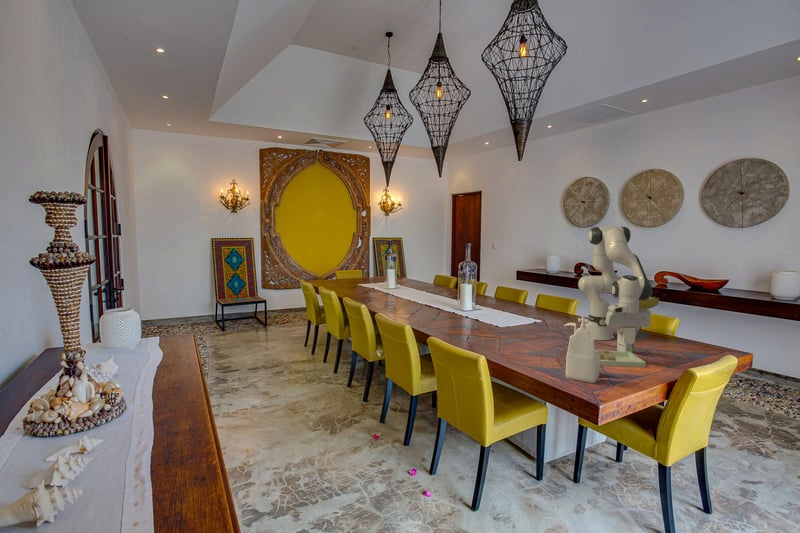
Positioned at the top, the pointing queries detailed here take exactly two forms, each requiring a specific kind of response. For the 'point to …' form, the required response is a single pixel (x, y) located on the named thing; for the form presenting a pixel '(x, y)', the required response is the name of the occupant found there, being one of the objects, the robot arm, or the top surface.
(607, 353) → the maple block
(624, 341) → the cream hollow square tube
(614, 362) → the tray
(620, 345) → the syrup box
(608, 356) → the maple block
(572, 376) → the cream tall nozzled container
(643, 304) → the cocktail glass
